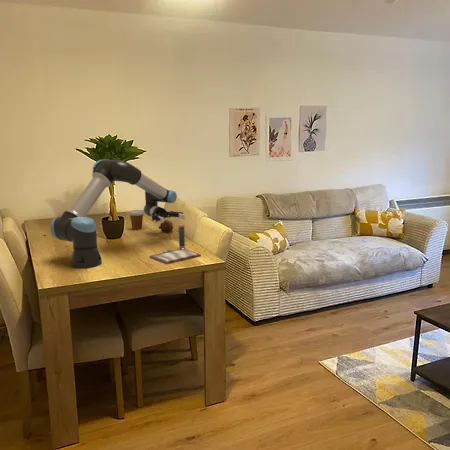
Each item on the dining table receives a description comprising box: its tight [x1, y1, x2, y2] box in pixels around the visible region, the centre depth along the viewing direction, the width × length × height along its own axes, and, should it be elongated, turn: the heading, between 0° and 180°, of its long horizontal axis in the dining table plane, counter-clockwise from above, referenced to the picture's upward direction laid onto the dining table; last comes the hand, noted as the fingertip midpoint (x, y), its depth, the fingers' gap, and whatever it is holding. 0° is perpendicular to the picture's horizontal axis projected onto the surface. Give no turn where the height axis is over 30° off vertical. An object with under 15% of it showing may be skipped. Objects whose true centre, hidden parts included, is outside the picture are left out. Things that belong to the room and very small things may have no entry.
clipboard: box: [149, 248, 202, 265], centre depth 251 cm, size 22×16×2 cm
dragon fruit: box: [158, 219, 174, 233], centre depth 308 cm, size 8×8×12 cm
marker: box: [177, 223, 186, 249], centre depth 267 cm, size 3×3×14 cm
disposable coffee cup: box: [129, 209, 145, 231], centre depth 315 cm, size 10×10×12 cm
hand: (173, 218), depth 273 cm, fingers open, 13 cm apart
